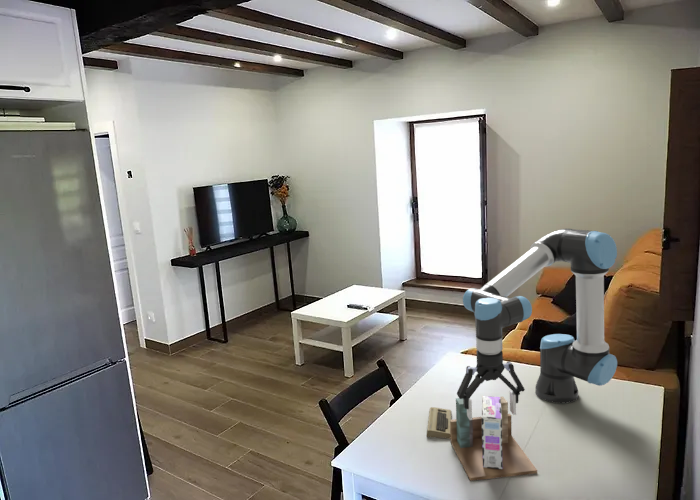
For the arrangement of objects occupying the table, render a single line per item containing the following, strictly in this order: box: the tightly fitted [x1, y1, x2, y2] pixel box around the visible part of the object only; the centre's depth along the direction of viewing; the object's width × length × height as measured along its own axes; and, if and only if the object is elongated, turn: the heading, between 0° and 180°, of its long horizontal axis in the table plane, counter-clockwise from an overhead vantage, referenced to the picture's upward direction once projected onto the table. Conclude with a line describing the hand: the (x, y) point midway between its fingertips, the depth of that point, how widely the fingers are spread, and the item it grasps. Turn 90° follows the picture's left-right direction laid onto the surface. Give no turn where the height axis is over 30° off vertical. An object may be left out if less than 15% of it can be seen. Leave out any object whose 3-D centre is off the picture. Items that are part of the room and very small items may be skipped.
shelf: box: [450, 396, 538, 482], centre depth 153 cm, size 20×20×16 cm
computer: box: [426, 406, 453, 439], centre depth 174 cm, size 16×8×3 cm, turn 168°
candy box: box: [481, 395, 503, 469], centre depth 152 cm, size 14×6×16 cm, turn 164°
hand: (491, 415), depth 153 cm, fingers open, 13 cm apart
